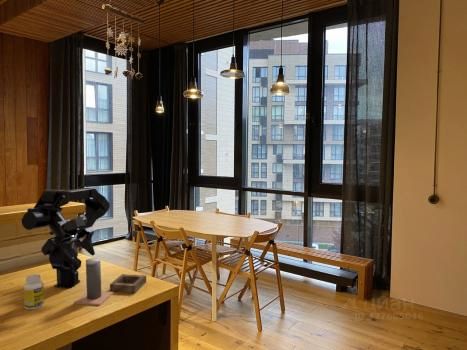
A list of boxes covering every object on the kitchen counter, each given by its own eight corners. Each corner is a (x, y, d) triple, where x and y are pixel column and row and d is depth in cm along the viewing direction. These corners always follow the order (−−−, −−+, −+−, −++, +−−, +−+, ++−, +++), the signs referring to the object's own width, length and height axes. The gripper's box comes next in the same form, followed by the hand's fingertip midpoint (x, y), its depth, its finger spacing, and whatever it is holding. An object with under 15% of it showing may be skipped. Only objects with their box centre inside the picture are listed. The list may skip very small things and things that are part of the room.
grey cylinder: (84, 299, 114) (82, 261, 114) (91, 293, 119) (90, 257, 118) (97, 299, 114) (95, 262, 113) (103, 294, 118) (102, 258, 117)
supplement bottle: (35, 310, 108) (33, 280, 107) (20, 309, 109) (18, 278, 108) (48, 303, 113) (46, 273, 112) (33, 301, 114) (32, 272, 113)
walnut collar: (110, 291, 122) (109, 284, 122) (122, 280, 132) (122, 274, 131) (135, 292, 121) (135, 286, 121) (146, 282, 130) (146, 275, 130)
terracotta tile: (74, 303, 113) (74, 301, 113) (89, 291, 121) (89, 290, 121) (99, 305, 111) (99, 303, 111) (113, 293, 120) (113, 291, 120)
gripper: (46, 214, 108) (74, 252, 105) (90, 204, 125) (115, 237, 123) (29, 236, 112) (56, 274, 109) (74, 223, 129) (98, 256, 126)
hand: (83, 258), depth 116 cm, fingers open, 9 cm apart
